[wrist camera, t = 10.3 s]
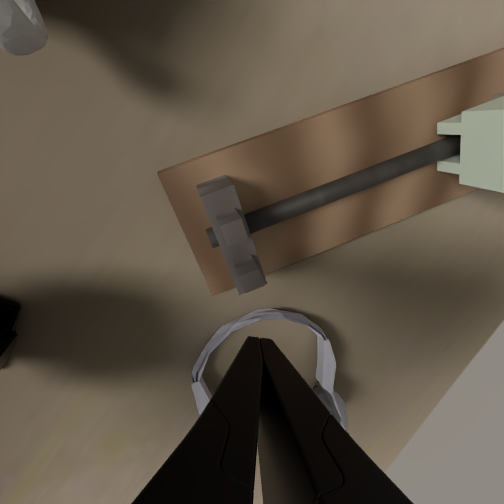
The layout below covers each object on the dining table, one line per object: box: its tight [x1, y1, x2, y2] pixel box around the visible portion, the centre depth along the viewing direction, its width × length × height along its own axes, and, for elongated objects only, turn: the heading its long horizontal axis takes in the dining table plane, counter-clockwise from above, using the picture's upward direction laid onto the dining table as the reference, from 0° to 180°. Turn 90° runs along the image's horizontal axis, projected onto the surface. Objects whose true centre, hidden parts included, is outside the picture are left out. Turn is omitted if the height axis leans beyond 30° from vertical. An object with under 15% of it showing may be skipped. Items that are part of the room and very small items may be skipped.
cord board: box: [157, 48, 504, 296], centre depth 20 cm, size 28×10×6 cm, turn 107°
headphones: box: [191, 308, 348, 431], centre depth 28 cm, size 17×6×20 cm
